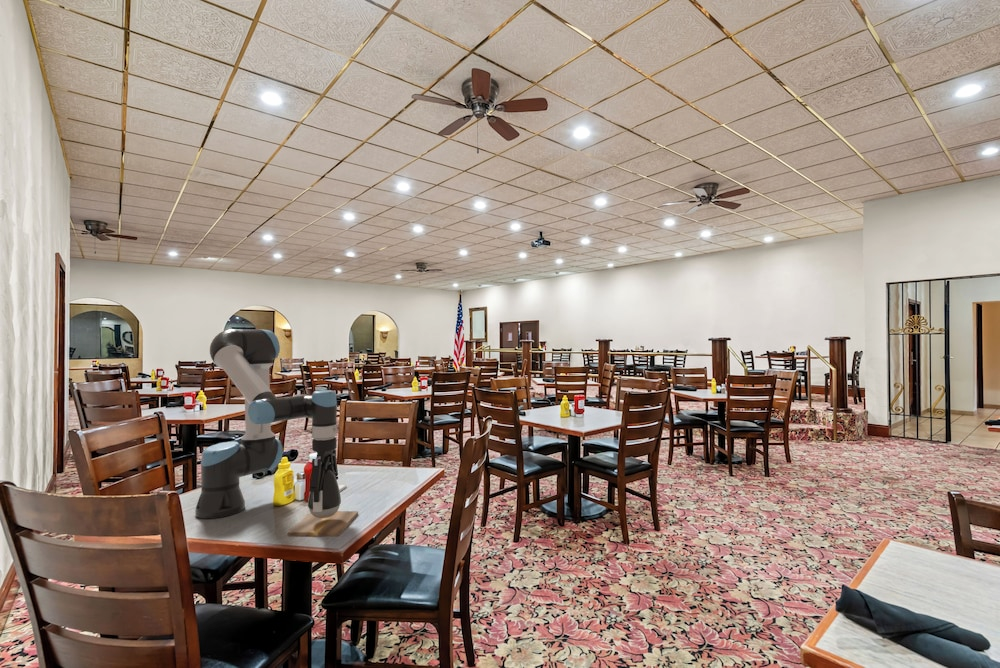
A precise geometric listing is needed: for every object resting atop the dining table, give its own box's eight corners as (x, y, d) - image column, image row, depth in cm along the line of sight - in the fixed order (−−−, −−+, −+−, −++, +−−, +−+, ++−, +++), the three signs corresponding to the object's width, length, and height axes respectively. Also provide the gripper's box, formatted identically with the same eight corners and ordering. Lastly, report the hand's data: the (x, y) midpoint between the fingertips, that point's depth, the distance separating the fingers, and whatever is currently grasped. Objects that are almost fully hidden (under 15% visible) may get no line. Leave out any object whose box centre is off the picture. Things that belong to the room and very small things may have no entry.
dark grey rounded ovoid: (302, 521, 150) (302, 473, 150) (314, 509, 161) (314, 464, 161) (335, 521, 151) (335, 473, 151) (344, 509, 161) (344, 464, 161)
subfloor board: (287, 535, 147) (287, 532, 147) (312, 513, 165) (312, 510, 165) (338, 536, 146) (338, 532, 146) (357, 514, 164) (357, 511, 164)
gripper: (321, 445, 144) (321, 518, 144) (348, 430, 167) (348, 494, 167) (297, 445, 145) (297, 518, 144) (327, 430, 167) (327, 493, 167)
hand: (324, 505), depth 156 cm, fingers closed on dark grey rounded ovoid, 10 cm apart
